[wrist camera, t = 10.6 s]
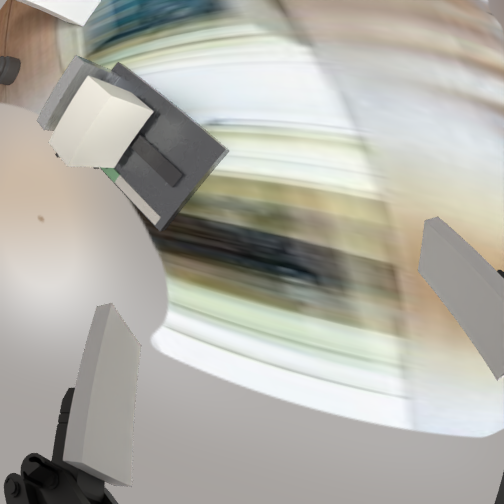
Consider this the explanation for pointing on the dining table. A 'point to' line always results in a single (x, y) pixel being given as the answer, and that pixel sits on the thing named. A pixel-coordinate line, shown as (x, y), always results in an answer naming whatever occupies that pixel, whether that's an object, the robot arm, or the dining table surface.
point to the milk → (66, 9)
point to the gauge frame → (146, 143)
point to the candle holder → (8, 69)
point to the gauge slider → (98, 125)
